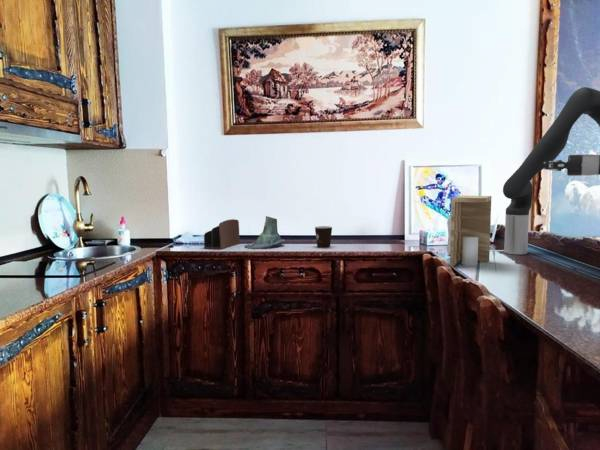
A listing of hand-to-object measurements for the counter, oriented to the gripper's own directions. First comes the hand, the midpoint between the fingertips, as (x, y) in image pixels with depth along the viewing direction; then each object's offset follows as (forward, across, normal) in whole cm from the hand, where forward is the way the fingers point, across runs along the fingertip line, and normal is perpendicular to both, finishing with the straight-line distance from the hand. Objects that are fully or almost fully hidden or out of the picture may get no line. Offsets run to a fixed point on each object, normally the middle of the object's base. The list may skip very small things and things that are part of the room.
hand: (532, 166), depth 164 cm
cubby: (+20, +10, +38) cm, 44 cm away
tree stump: (+120, +8, +39) cm, 126 cm away
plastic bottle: (+29, -7, +38) cm, 48 cm away
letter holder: (+140, +18, +39) cm, 146 cm away
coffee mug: (+92, -4, +38) cm, 100 cm away
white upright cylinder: (+19, +11, +38) cm, 44 cm away
